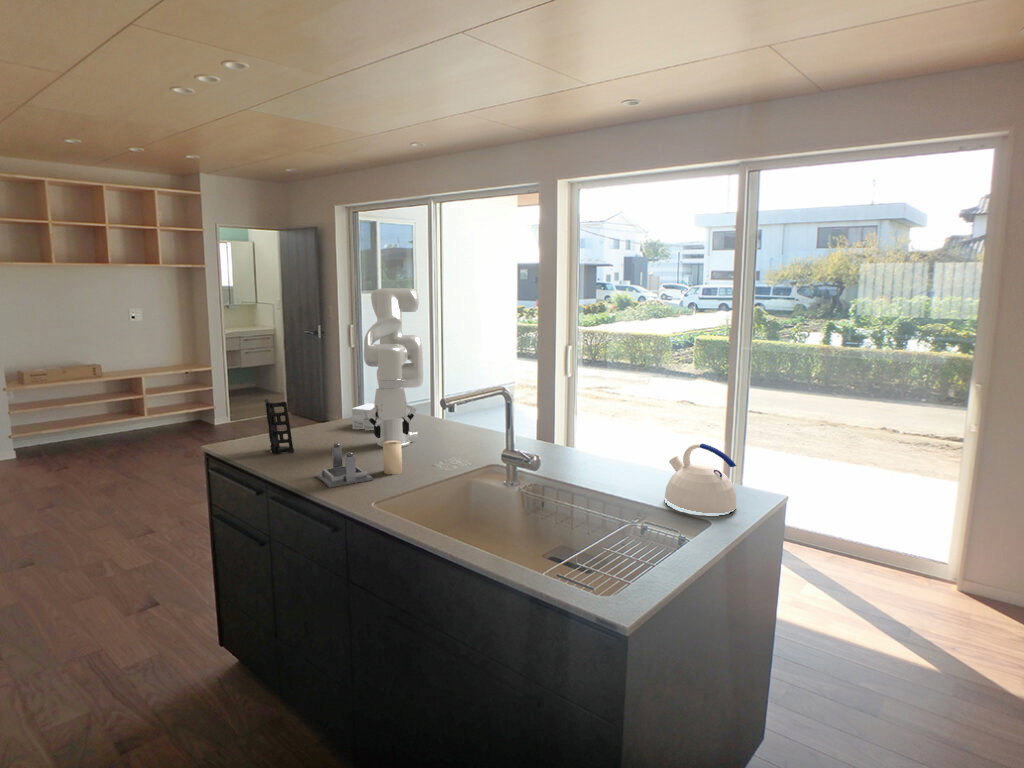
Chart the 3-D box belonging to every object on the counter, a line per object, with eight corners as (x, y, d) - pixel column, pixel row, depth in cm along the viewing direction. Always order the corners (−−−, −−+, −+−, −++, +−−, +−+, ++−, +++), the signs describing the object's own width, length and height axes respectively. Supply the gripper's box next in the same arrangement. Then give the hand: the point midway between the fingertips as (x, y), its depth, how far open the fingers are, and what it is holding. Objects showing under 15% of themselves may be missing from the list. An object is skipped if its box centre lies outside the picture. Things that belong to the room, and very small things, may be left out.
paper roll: (397, 468, 218) (397, 439, 216) (404, 472, 213) (404, 443, 211) (381, 470, 215) (380, 441, 213) (388, 475, 210) (387, 446, 208)
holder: (300, 449, 240) (293, 398, 235) (287, 456, 233) (280, 404, 228) (276, 447, 243) (269, 396, 238) (263, 454, 236) (255, 402, 231)
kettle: (687, 487, 199) (689, 431, 196) (750, 505, 184) (754, 444, 181) (648, 503, 186) (651, 443, 182) (713, 523, 171) (717, 458, 168)
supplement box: (402, 426, 279) (401, 405, 278) (386, 432, 267) (385, 410, 266) (369, 422, 285) (368, 402, 284) (352, 429, 273) (351, 407, 272)
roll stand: (357, 468, 217) (356, 440, 215) (373, 480, 205) (372, 450, 203) (315, 475, 210) (314, 446, 208) (329, 488, 197) (328, 457, 195)
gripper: (410, 381, 217) (411, 430, 219) (360, 385, 207) (362, 436, 210) (419, 383, 210) (420, 434, 213) (369, 388, 201) (370, 441, 203)
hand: (391, 435), depth 211 cm, fingers open, 9 cm apart
